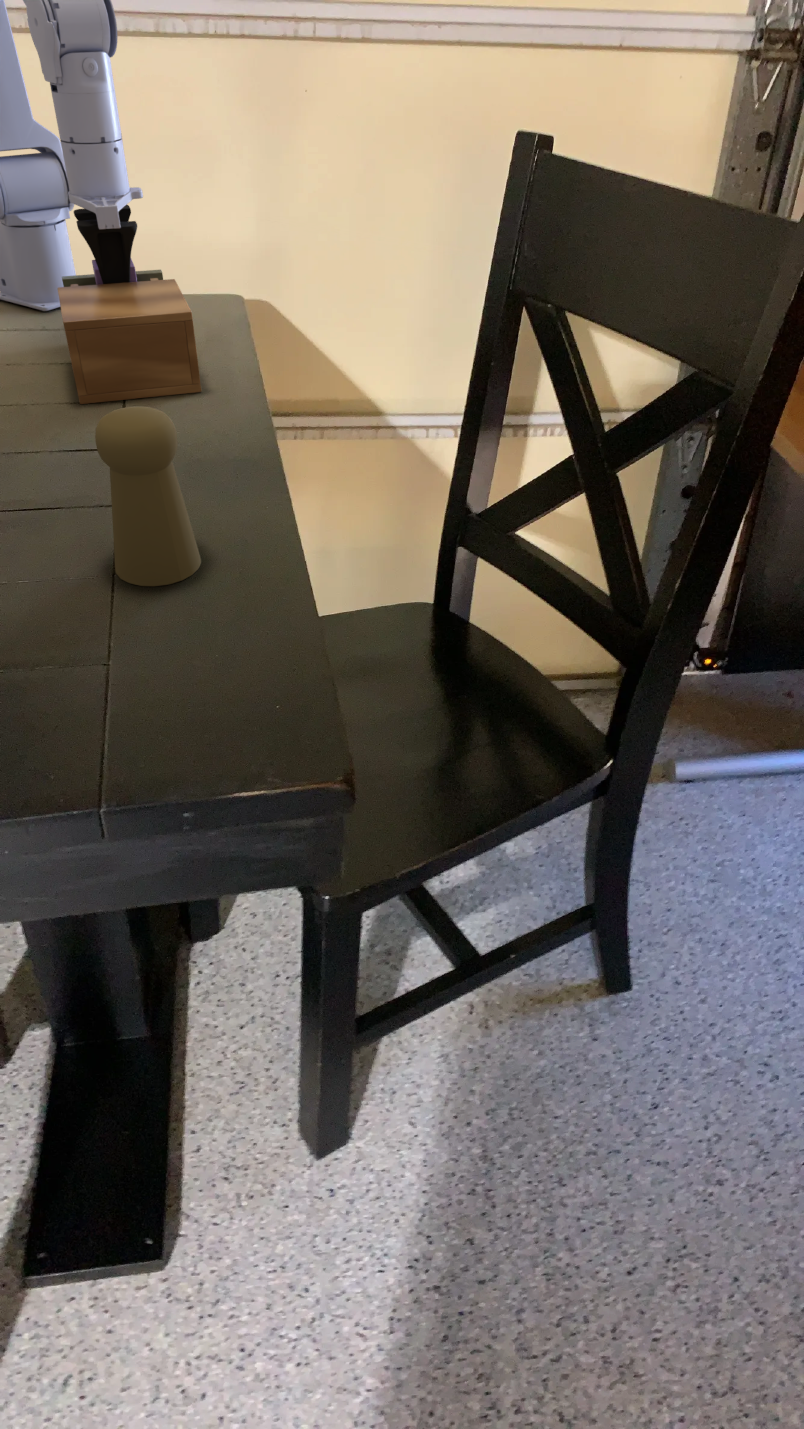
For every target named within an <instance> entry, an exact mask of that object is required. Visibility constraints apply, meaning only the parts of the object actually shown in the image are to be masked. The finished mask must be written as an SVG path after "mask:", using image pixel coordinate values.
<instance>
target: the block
mask: <svg viewBox="0 0 804 1429" xmlns="http://www.w3.org/2000/svg"><path fill="white" fill-rule="evenodd" d="M91 264H92V270H93V274H94V276H95V281H96V285H99V284H103V282H102V279H101V276H100V272H99V269H98V266H97V263H96V261H95V259H91ZM136 271H137V270H136V267H135V264H134V262H133V259H132V258H131V260H130V282H137V277H136Z"/></svg>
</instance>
